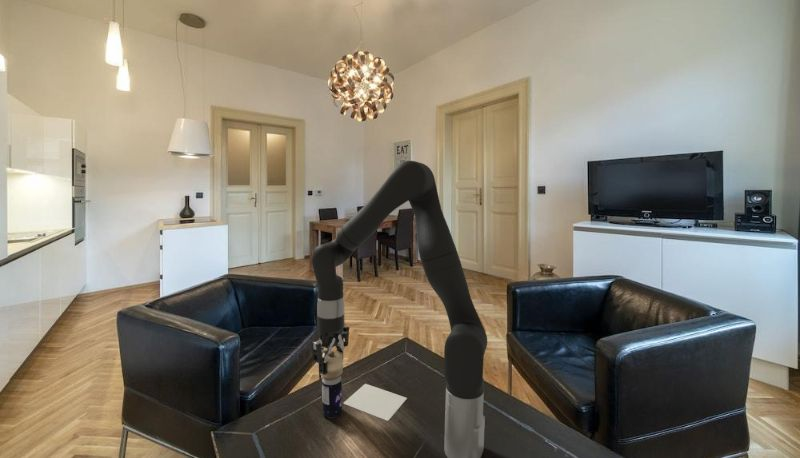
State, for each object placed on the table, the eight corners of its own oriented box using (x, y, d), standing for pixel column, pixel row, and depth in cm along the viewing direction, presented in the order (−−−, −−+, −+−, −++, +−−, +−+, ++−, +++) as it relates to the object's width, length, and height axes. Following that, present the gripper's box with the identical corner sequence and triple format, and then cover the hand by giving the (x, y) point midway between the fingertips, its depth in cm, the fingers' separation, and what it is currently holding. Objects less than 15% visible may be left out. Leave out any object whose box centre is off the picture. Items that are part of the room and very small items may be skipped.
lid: (347, 369, 98) (347, 350, 97) (332, 380, 93) (332, 360, 92) (330, 364, 101) (329, 345, 100) (315, 374, 96) (315, 354, 95)
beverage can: (337, 422, 95) (337, 382, 94) (319, 419, 96) (318, 380, 95) (345, 409, 101) (344, 371, 99) (327, 406, 102) (326, 369, 100)
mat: (407, 399, 106) (407, 398, 106) (387, 422, 95) (387, 420, 95) (365, 384, 113) (365, 383, 113) (343, 404, 103) (343, 403, 103)
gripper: (323, 324, 87) (325, 384, 89) (356, 307, 99) (356, 360, 101) (302, 318, 90) (303, 376, 92) (336, 302, 103) (337, 354, 105)
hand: (331, 367), depth 97 cm, fingers closed on lid, 6 cm apart
